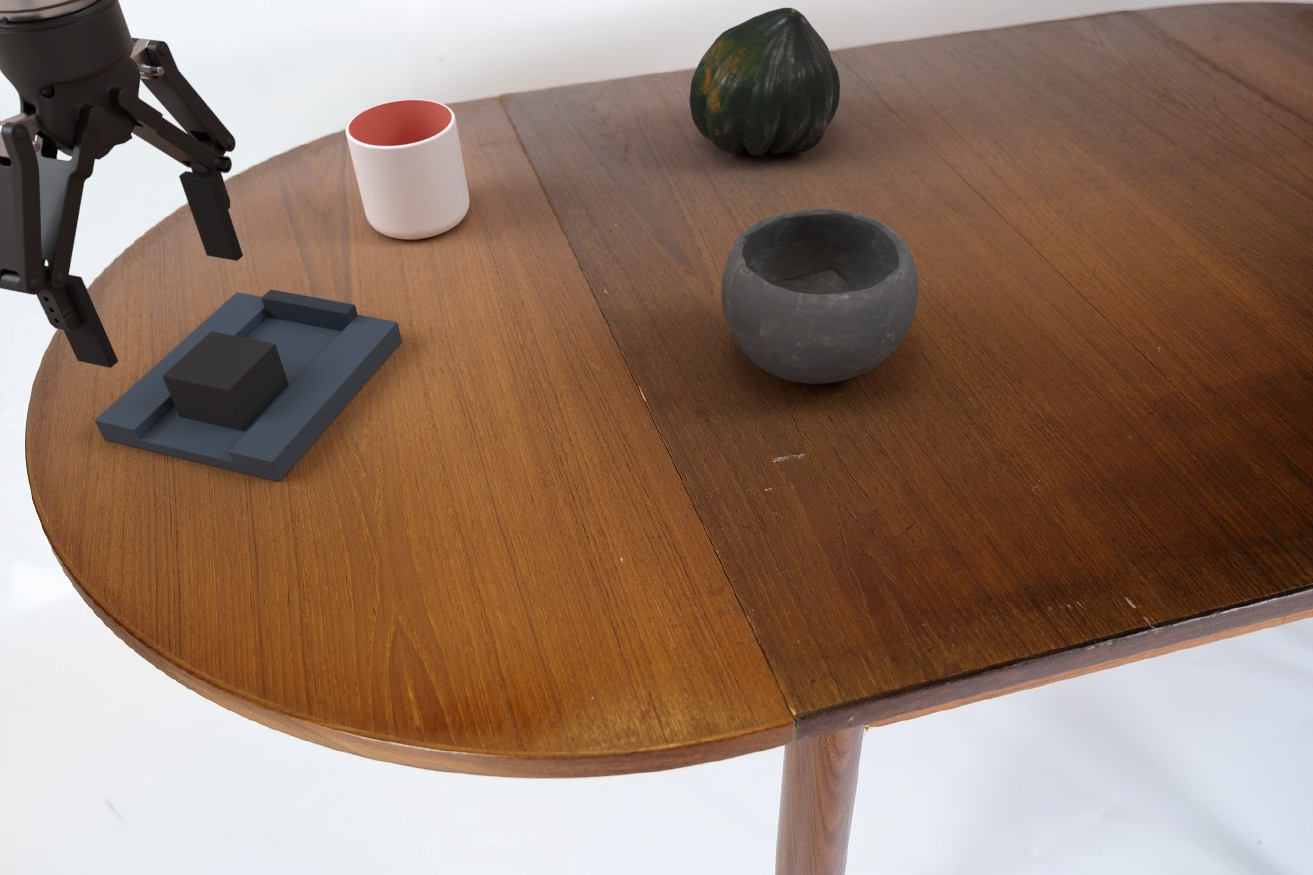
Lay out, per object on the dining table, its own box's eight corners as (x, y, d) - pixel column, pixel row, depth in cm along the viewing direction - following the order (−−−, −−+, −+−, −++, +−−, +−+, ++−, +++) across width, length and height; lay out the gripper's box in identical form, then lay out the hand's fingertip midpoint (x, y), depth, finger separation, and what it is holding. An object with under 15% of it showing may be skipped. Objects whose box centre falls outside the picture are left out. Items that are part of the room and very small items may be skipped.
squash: (658, 73, 120) (703, -6, 106) (781, 49, 125) (839, -29, 111) (702, 196, 119) (752, 134, 105) (824, 168, 124) (888, 104, 109)
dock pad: (279, 482, 82) (268, 451, 80) (103, 439, 87) (89, 410, 85) (402, 341, 95) (395, 311, 93) (243, 310, 99) (233, 282, 97)
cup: (424, 255, 105) (403, 157, 98) (346, 228, 109) (322, 132, 103) (492, 207, 111) (477, 112, 104) (416, 184, 115) (397, 90, 109)
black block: (244, 431, 85) (228, 390, 83) (179, 416, 87) (161, 375, 84) (289, 384, 89) (275, 343, 87) (226, 371, 91) (211, 330, 88)
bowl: (745, 429, 84) (746, 319, 78) (705, 317, 95) (703, 212, 89) (936, 402, 86) (953, 291, 79) (875, 294, 97) (885, 189, 90)
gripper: (-80, 92, 55) (82, 425, 69) (230, -65, 73) (310, 225, 87) (-190, 77, 57) (-12, 402, 71) (137, -72, 75) (229, 212, 89)
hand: (165, 305), depth 79 cm, fingers open, 13 cm apart
